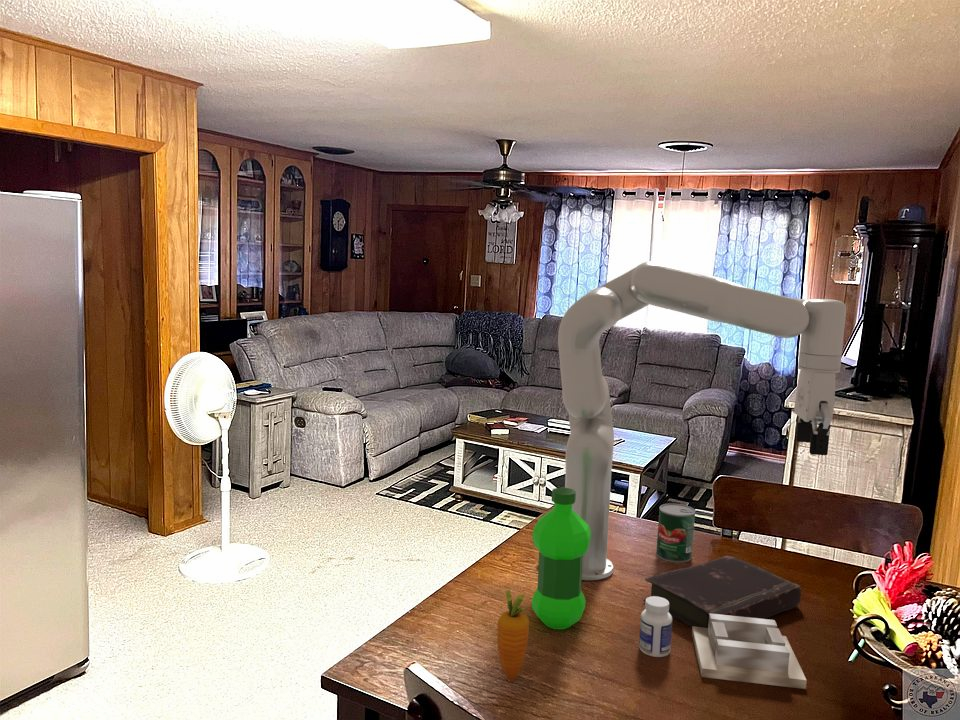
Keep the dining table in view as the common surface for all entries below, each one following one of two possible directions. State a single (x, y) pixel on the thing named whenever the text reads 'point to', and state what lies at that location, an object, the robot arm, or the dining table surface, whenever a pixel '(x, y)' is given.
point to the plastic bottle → (560, 562)
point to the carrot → (512, 637)
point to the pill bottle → (655, 627)
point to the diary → (724, 591)
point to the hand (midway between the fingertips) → (811, 448)
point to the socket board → (744, 673)
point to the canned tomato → (675, 533)
